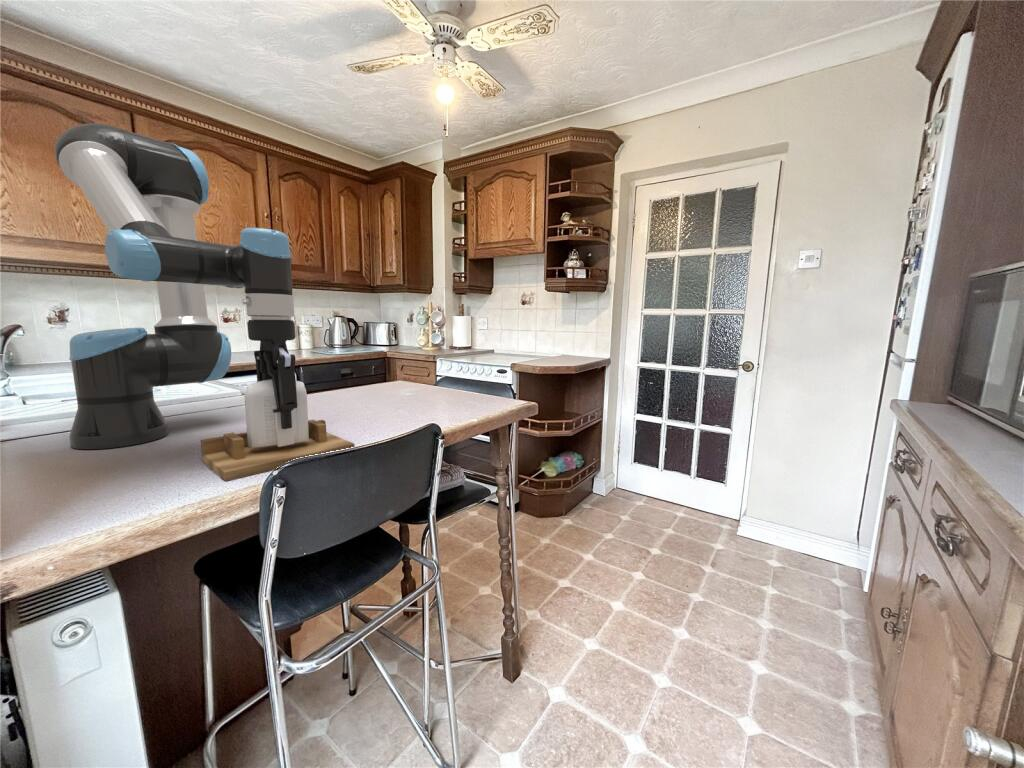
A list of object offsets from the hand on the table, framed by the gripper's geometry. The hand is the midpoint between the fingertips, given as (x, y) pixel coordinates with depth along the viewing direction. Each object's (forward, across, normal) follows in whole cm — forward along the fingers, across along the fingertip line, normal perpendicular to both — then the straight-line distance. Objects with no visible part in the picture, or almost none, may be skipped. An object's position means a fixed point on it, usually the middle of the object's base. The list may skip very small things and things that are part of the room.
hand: (279, 441), depth 79 cm
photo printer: (+1, 0, 0) cm, 1 cm away
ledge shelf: (+3, +1, 0) cm, 3 cm away
